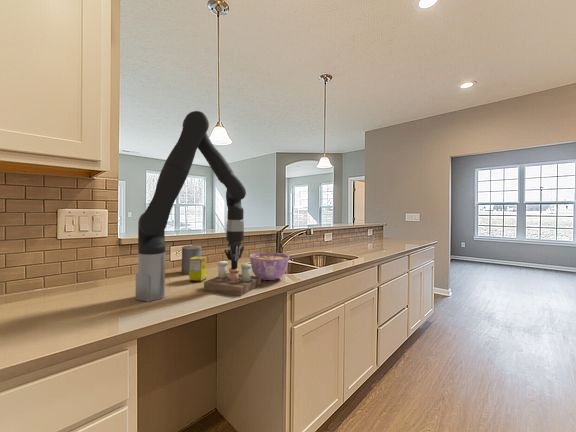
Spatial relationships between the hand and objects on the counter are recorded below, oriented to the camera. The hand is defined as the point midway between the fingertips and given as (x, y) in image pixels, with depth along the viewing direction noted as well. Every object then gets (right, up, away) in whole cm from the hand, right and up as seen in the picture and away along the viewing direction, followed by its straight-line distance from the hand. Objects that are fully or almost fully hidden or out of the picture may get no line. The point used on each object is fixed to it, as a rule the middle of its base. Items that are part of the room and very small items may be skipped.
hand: (234, 268), depth 121 cm
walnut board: (0, -8, 0) cm, 8 cm away
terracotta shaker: (0, -7, 0) cm, 7 cm away
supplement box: (-19, -8, +9) cm, 23 cm away
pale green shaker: (+5, -5, -2) cm, 7 cm away
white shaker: (-6, -4, +2) cm, 8 cm away
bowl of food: (+14, -8, +16) cm, 23 cm away
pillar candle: (-28, -7, +24) cm, 37 cm away
